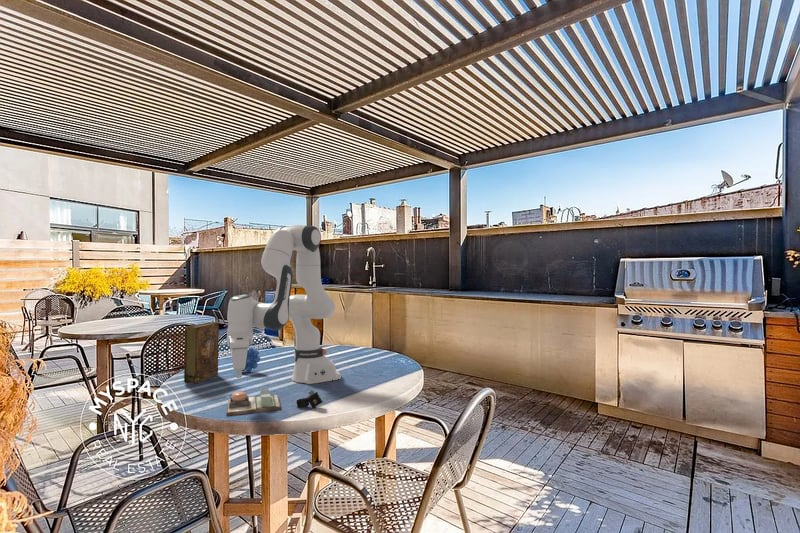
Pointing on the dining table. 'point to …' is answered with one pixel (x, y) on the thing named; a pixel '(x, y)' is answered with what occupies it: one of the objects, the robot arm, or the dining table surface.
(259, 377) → the dining table surface
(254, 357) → the grapes
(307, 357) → the robot arm
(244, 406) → the picture board
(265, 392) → the marker
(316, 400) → the black angular piece
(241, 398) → the button
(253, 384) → the dining table surface
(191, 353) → the book
